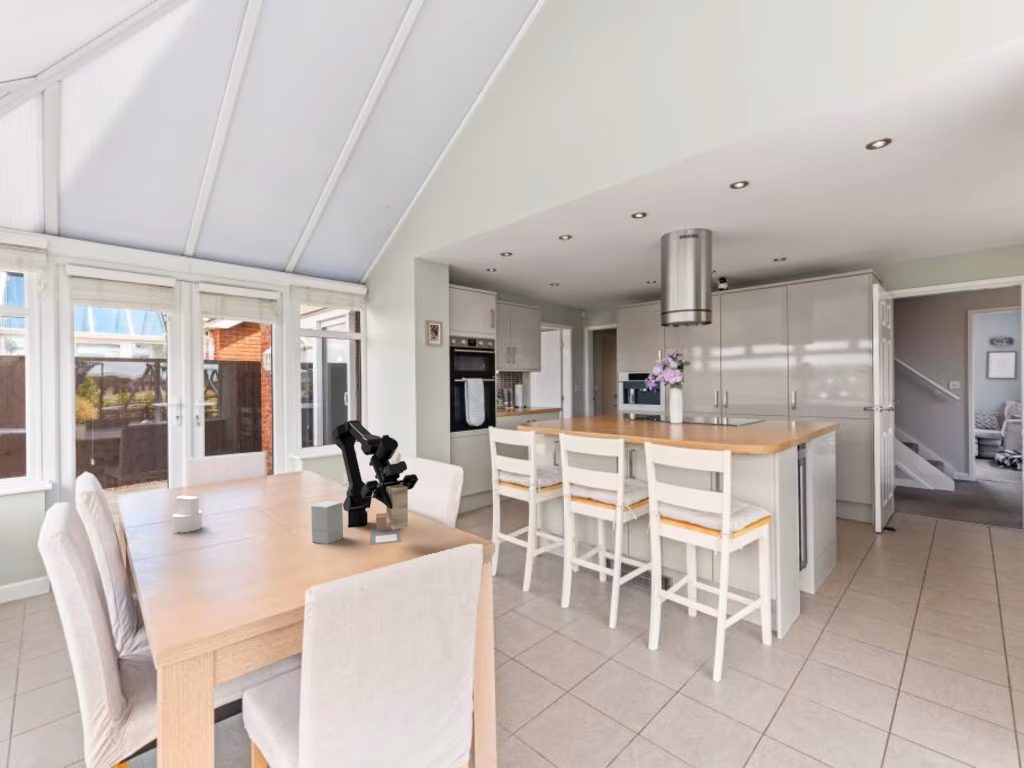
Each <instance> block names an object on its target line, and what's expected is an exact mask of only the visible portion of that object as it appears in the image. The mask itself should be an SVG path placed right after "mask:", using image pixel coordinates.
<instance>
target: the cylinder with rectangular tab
mask: <svg viewBox="0 0 1024 768" xmlns="http://www.w3.org/2000/svg"><path fill="white" fill-rule="evenodd" d="M199 499H200V498H199V496H190V495H179V496H176V497H175V513H173V514H172V532H173V531H174V532H187V533H190V532H189V531H193V532H195V531H194V530H196V531H198V530H197V529H199V530H201V529H202V528H201V527H203V521H202V520H203V519H202V518H203V515H202V514H203V513H202V510H201V509H200V505H199V504H200V503H199V502H200V501H199ZM200 528H201V529H200ZM174 532H173V533H174Z"/></svg>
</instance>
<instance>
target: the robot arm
mask: <svg viewBox="0 0 1024 768" xmlns="http://www.w3.org/2000/svg"><path fill="white" fill-rule="evenodd" d="M331 434H332V438H333V440H334V444H335V445H336V447H338V448H339V449H340V450H341V454H342V458H343V462H344V467H345V472H346V477H347V481H348V488H347V491H346V497H345V500H344V502H342V509H343V510H344V511H345V512H347V521H348V522H347V523H348V524H347V528H358V527H359V528H360V527H366V526H367V524H368V522H369V521H368V520H369V518H368V511H367V509H371V505H372V499H376V500H377V501H380V502H381V503H382V504H384V505H385V506H386V508H387V507H388V508H390V509H392V508H393V507H392V503H391V501H390V499H389V496H388V494H387V490H386V487H388V486H394V485H403V486H406V487H408V491H410V490H412V489H414V488H415V486H416V484H417V482H418V481H419V478H418V475H417V474H415V473H411V474H405V475H404V476H403V478H402V479H399V478H400V476H401V475H400V474H403V473H404V472H406V471H407V469H408V466H407V465H408V464H407V463H406V461H405V460H402V461H401V460H400V461H399V462H397V463H391V462H390V460H392V458H393V456H394V455H395V453H396V450H397V449H398V447H399V442H398V441H397V440H396V439H395V438H393V437H392V436H391V437H390V435H389V434H384V435H382V437H381V436H379V435H376V434H372V433H371V432H369V430H368V429H367V428H365V426H363V425H362V424H361V422H360V420H358V419H357V420H356V419H352V420H347V421H345V422H344V423H342V424H340V425H337V426H335V428H334V429H333V430H332V433H331ZM356 441H358V442H359V443H360V450H361V451H362V453H363V454H364V456H371V458H370V461H369V463H368V465H369V467H373V470H374V472H375V476H374V478H375V479H374V480H369V481H365V482H364V481H363V479H362V474H361V470H360V466H359V461H358V458H357V453H356V448H355V444H356ZM398 479H399V480H398Z"/></svg>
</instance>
